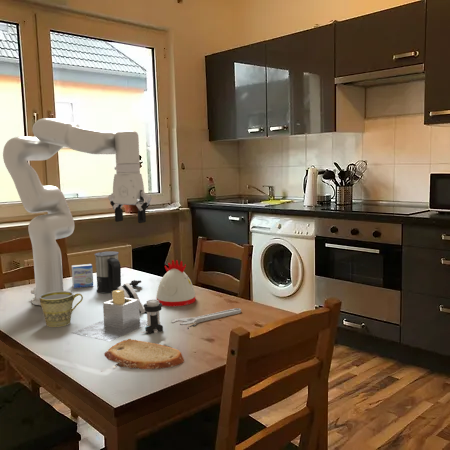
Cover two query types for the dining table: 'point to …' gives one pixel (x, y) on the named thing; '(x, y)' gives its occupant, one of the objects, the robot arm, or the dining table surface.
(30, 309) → the dining table surface
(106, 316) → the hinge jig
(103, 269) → the milk frother
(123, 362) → the bread slice
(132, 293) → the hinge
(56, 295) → the ceramic cup
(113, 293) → the brass pin
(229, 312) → the adjustable wrench
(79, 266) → the medicine box
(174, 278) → the kitchen timer
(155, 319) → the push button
